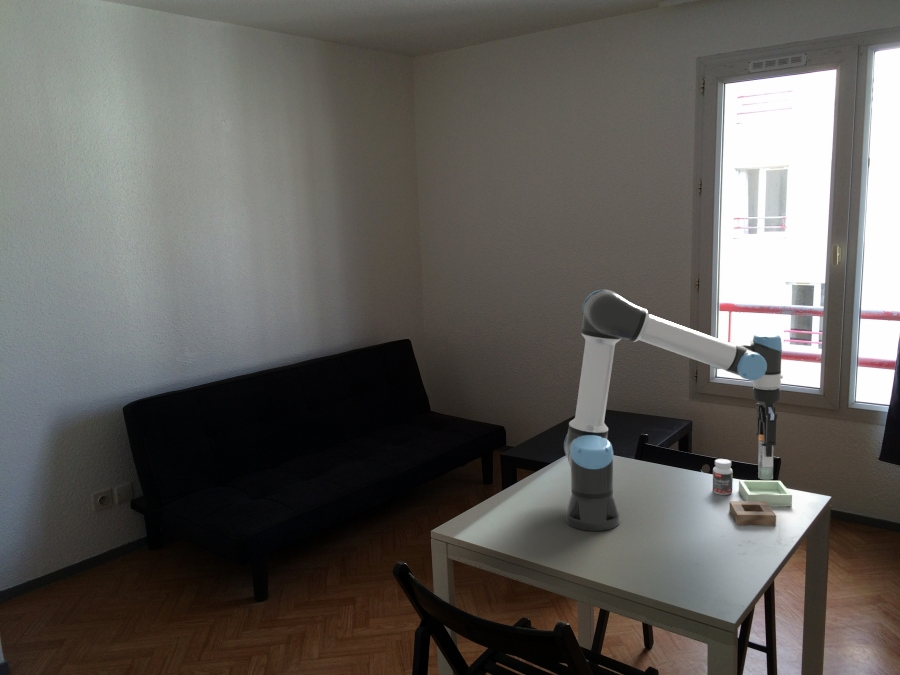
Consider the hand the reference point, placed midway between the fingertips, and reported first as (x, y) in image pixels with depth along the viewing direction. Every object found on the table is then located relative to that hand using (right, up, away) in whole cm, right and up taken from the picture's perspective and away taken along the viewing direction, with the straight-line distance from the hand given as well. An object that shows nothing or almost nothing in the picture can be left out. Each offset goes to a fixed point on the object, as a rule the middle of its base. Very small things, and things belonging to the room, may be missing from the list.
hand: (765, 463), depth 216 cm
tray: (0, -11, +2) cm, 11 cm away
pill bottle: (-10, -10, +8) cm, 16 cm away
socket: (-9, -13, -12) cm, 20 cm away
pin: (0, -4, +1) cm, 4 cm away
